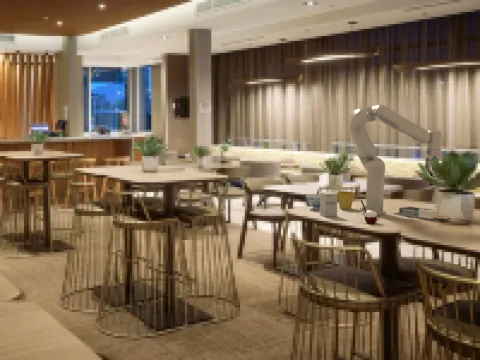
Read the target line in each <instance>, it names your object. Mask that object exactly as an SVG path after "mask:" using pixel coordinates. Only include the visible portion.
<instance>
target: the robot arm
mask: <svg viewBox="0 0 480 360" xmlns="http://www.w3.org/2000/svg"><path fill="white" fill-rule="evenodd" d="M350 119H351V120H350V122H349V123H350V125H349V133H350V135H351V137H352V140H353V142H354V144H355V153H356V155H357V157H358V159H359V160H360V162H361V164H362V166H363V168H364V169H365V171H366V172H367V175H366V191H365V192H366V194H365V197H366V199H365V204H364V206H365V209H366V211H367V210H372V211H374V212H376V213H377V216H383V215H386V214H387V211H386V210H384V197H385V196H384V195H385V193H384V191H385V174H386V164H385V162H384V160H383V159H381V158H380V157H378V156H377V154H376V146H375V144H374V142H373V141H372V140H371V138H370V136H369V134H368V131H367V128H366V126H367V125H366V124H367V123H371V122H375V121H380V122H381V123H382V124H385V125H386V126H387V127H390V128H391V129H393V130H394V131H396V132H399V133H400V134H401V133H402V134H405V135H406V136H408V137H410V138H411V140H412V141H413V143H416V144H420V145H424V144H426V156H425V160H424V169H425V168H426V169H427V171H428V173H429V174H430V175H431V176H432V177H433V178H434V177H435V176H434V174H435V173H433V171H432V170H431V168H430V159H432V158H433V156H436V157H437V158H438V159H439V160H441V159H442V160H443V156H442V154H441V153H442V150H441V149H442V132H441V130H439V129H438V130H436V129H435V130H433V129H432V130H426V129H425V128H423V127H422V126H420V125H419V124H417V123H415V122H413V121H411V120H409V119H408V118H406V117H404V116H402V114H400V113H398V112H396V111H394V110H393V109H391V108H390V107H388V106H387V105H384V104H376V105H372V106H367V107H362V108H357V109H354V110H353V111H352V112H351V114H350ZM429 186H434V185H433V184H431V183H430V182H429ZM359 211H360V212H362V214H365V211H364V208H363V207H359Z"/></svg>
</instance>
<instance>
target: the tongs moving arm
mask: <svg viewBox="0 0 480 360" xmlns="http://www.w3.org/2000/svg"><path fill="white" fill-rule="evenodd" d="M411 207H412V210H413V211H419V209H423V210H429V208H423V207H418V206H411Z"/></svg>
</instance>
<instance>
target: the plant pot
mask: <svg viewBox="0 0 480 360" xmlns="http://www.w3.org/2000/svg"><path fill="white" fill-rule="evenodd" d="M336 193H337V202H338V204H339V205H338V206H339V209H341V210H351V209H352V205H353V202H354V199H355V191H346V190H345V191H344V190H343V191H337V192H336Z"/></svg>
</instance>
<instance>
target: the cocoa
mask: <svg viewBox="0 0 480 360" xmlns="http://www.w3.org/2000/svg"><path fill="white" fill-rule="evenodd" d="M360 202H361V203H360V204H361V206H362V208H364V211H365V214H364V213H363V214H364V221H365V223H366V224H368V225H371V224H372V225H373V224H376V223H377V222H378V221H379V220H380V217H381V216H380V215H377V213H376V212H374V211H372V210H367V211H366V209H365V203H364V201H363V200H362V199H360Z"/></svg>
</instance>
